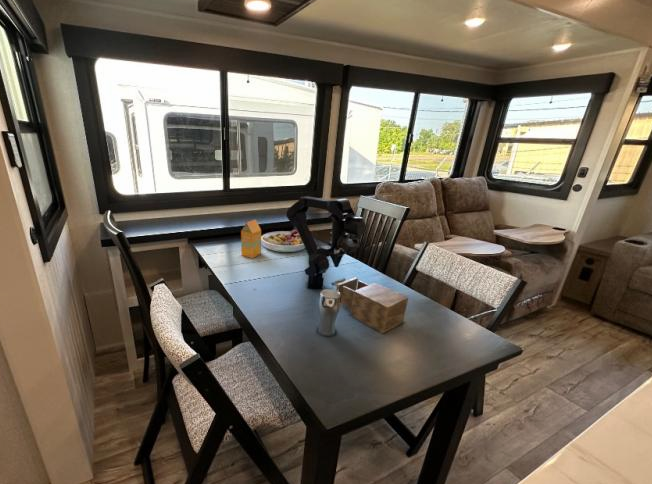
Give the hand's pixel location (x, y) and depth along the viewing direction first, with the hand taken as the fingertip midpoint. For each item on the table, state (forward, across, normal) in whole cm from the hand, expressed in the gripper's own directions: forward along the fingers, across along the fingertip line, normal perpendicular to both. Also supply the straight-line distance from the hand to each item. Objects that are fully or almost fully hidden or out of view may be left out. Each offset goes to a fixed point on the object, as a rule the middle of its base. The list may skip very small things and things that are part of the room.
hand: (336, 267), depth 130 cm
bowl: (+10, +23, +63) cm, 68 cm away
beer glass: (+14, -23, -17) cm, 32 cm away
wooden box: (+14, -1, -22) cm, 27 cm away
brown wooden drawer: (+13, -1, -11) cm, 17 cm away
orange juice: (+11, -3, +62) cm, 63 cm away
